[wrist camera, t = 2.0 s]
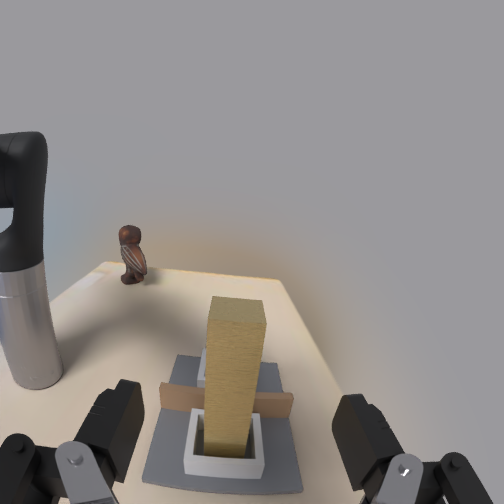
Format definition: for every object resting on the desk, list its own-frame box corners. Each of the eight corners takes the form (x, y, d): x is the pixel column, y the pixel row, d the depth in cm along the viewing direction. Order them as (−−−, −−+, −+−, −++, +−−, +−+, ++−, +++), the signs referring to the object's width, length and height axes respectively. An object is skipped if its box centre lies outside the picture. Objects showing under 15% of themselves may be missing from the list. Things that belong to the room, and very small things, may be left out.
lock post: (242, 465, 23) (266, 323, 19) (203, 463, 23) (207, 318, 19) (241, 439, 27) (262, 300, 23) (206, 436, 27) (212, 296, 23)
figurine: (152, 287, 68) (152, 227, 66) (132, 290, 64) (132, 228, 62) (133, 276, 77) (133, 224, 75) (116, 278, 73) (115, 224, 71)
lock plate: (301, 492, 20) (312, 473, 19) (142, 482, 19) (135, 462, 18) (276, 366, 44) (280, 345, 43) (177, 358, 43) (177, 336, 42)
